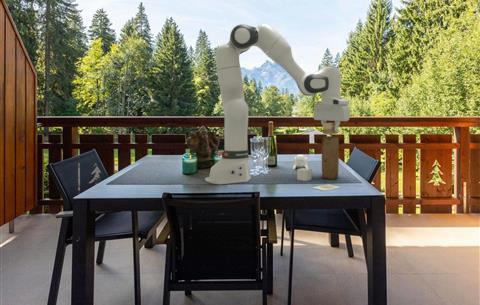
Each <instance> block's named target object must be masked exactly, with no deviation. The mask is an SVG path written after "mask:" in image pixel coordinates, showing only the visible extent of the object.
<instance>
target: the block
mask: <svg viewBox="0 0 480 305" xmlns="http://www.w3.org/2000/svg"><path fill="white" fill-rule="evenodd" d="M321 143H322V144H321V172H322V173H321V175H322V178H324V179H327V180H335V179H337V178H339V165H340V164H339V163H340V162H339V161H340V156H339V155H340V154H339V153H340V151H339V149H340V148H339V137H338V136H334V135H332V136H331V135H329V136H324V137H323V138H322V142H321Z"/></svg>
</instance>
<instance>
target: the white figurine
mask: <svg viewBox="0 0 480 305" xmlns="http://www.w3.org/2000/svg"><path fill="white" fill-rule="evenodd" d="M296 168H298V169H301V168H307V169H309V166H308V157H307V156H305V155H304V154H297V155H295V156H294V157H293V166H292V170H296Z"/></svg>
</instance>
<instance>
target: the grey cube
mask: <svg viewBox="0 0 480 305" xmlns="http://www.w3.org/2000/svg"><path fill="white" fill-rule="evenodd" d="M312 173H313V172H312V168H308V169H307V168H305V167H303V168H298V169H297V170H296V180H297V181H305V182H307V181H311V180H313V179H312V178H313V176H312V175H313V174H312Z"/></svg>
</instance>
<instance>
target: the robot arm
mask: <svg viewBox="0 0 480 305" xmlns="http://www.w3.org/2000/svg"><path fill="white" fill-rule="evenodd" d="M251 47H257V48H258V49H260V50H261V51H262V52H263V53H264V54H265V55H266V56H267V57H268V58H269V59H270V60H271V61H273V62H274V63H275V64H277V65H278V66H280V67H281V68H282V69H283V70H285V71H286V72H287V74H288V75H289V76H290V77H291V78H292V79H293V80H294V81H295V83H296V85H297V88H298V90H299V91H300V93H301V94H302V95H304V96H313V95H318V93H320V94H321V101H317V100H316V102H315V103H314V108H313V113H312V114H313V115H312V118H313V120H314V121H320V123H321V125H322V126H323V123H327V121H332V122H334V123H336V124H335V127H333V130H334V131H337V130H338V131H339V126H340V124H341V122H348V121H349V120H350V117H351V116H350V115H351V112H350V109H351V108H350V106H349V105H350V100H349V99H346V98H344V97H342V96H341V94H342V93H341V87H342V77H341V70H340V69H339V68H338V67H336V66H332V65H326V66H323V68H321V69H319V70H317V71H315V72H313V73H310V74H309V73H308V72H306V71H305V70H304V69H303V68H302V67H301V66H300V65H299V63H298V62H297V61H295V59H294V57H293V52H292V47H291V45H290V43H288V41H287V39H286V38H284V37H283V35H282V34H280V33H279V31H277V30H276V29H275V28H274V27H272V26H271V25H269V24H268V23H261V24H259V25H258V26H256V27H255V26H251V25H248V24H243V23H242V24H238V25H236V26H234V27H233V28H232V29H231V31H230V37H229V41H228V42H227V43H223V44H220V45H219V46H218V47H217V48H216V51H215V67H216V71H217V72H216V73H217V77H218V83H219V84H218V85H219V90H220V96H221V105H222V109H223V115H224V133H223V134H224V150H223V151H221V150H219V151H217V155H218V156H221V158H220V159H219V160H218V161H216V162H215V163H214V165H212V166H211V167H210V172H209V176H208V177H205V178H204V180H205V182H207V183H209V184H214V185H227V184H235V183H236V184H237V183H248V182H250V180H251V179H252V176H251V173H250V168H249V167H250V166H249V149H248V128H249V127H248V126H249V105H248V103H247V102H246V100H245V92H244V79H243V76H242V75H243V74H242V69H241V63H240V55H242V54H243V53H245V52H247V51H248V50H250V49H251Z"/></svg>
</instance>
